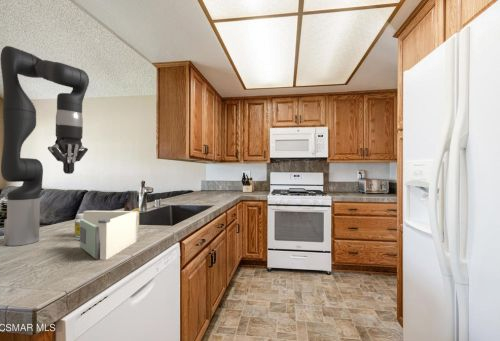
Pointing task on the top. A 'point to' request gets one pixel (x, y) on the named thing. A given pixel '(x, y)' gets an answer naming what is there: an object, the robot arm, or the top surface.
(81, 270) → the top surface
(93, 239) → the door
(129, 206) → the sauce bottle
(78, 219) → the supplement bottle
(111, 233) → the cabinet frame
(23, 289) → the top surface
